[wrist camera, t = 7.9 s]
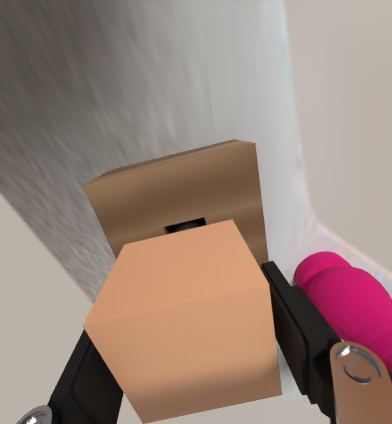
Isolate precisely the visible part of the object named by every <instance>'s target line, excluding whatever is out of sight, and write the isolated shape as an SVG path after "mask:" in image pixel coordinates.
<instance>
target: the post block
mask: <svg viewBox="0 0 392 424" xmlns="http://www.w3.org/2000/svg"><path fill="white" fill-rule="evenodd" d="M83 186H84V189H85V191H86V193H87V195H88V197H89V200H90V202H91V204H92V206H93V209H94V211H95V213H96V215H97V217H98V220H99V222H100V224H101V226H102V228H103V231H104V233H105V235H106V237H107V239H108V242H109V244H110V246H111V248H112V250H113V253H114V255H115V257H116V259H117V258H118V256H119V254H120V252H121V250H122V248H123V246H124V244H129V243H133V242H137V241H141V240H146V239H150V238H154V237H159V236H163V235H167V234H171V233H173V231H174V229H175V227H176V224H178V223H182V222H186V221H191V220H195V219H199V218H203V217H204V218H205V222H202V223H198V224H199V225H201V226H206V225H210V224H214V223H218V222H223V221H227V220H231V219H233V221H234V223H235V225H236V226H237V228H238V230H239V232H240V234H241V235H242V237H243V239H244V241H245V242H246V244H247V246H248V248H249V250H250V251H251V253H252V255H253V257H254V258H255V260H256V262H257V264H258V266H259V267H261V264H262V263H266V262H269V260H268V251H267V242H266V234H265V225H264V216H263V207H262V198H261V190H260V181H259V172H258V163H257V155H256V146H255V143H251V142H246V141H240V140H230V141H226V142H222V143H218V144H214V145H210V146H206V147H202V148H198V149H194V150H190V151H186V152H181V153H177V154H173V155H169V156H165V157H161V158H157V159H153V160H149V161H145V162H141V163H137V164H133V165H129V166H125V167H120V168H116V169H112V170H110V171H108V172H106V173H105V174H103V175H101V176H99V177H97V178H95V179H94V180H92V181H90V182H88V183H86V184H85V185H83Z"/></svg>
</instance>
